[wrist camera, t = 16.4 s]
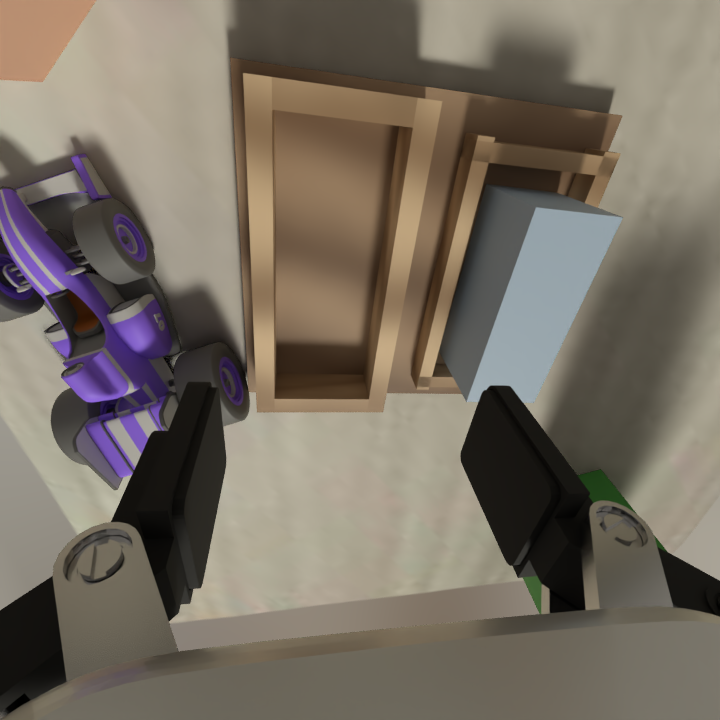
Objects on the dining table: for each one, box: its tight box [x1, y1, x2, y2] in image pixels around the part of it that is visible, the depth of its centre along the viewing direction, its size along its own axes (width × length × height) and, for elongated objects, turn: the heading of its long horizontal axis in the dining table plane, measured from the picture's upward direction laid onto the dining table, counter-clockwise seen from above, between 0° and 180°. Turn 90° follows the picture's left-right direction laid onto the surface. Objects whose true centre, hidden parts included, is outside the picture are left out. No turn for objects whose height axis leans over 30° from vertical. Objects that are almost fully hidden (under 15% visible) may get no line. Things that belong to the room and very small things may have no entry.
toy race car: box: [0, 154, 250, 490], centre depth 20 cm, size 10×15×6 cm, turn 15°
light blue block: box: [439, 184, 623, 403], centre depth 21 cm, size 10×4×5 cm, turn 173°
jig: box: [230, 58, 622, 412], centre depth 21 cm, size 17×18×4 cm
